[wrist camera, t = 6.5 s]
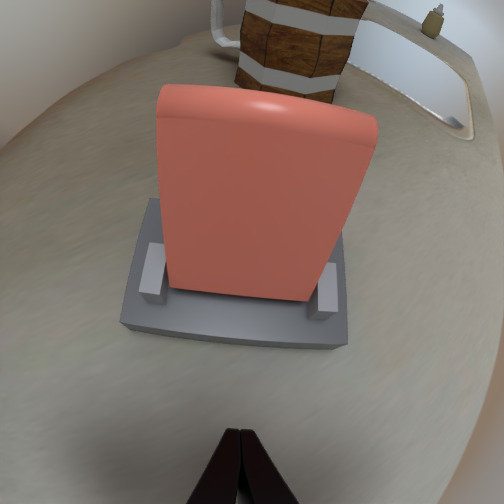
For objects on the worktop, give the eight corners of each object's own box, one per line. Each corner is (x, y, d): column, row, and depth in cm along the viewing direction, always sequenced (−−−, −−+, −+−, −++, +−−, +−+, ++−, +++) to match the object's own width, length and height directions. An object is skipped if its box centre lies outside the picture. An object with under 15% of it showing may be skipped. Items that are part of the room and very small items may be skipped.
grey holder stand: (332, 349, 19) (362, 338, 15) (130, 329, 18) (108, 313, 14) (329, 236, 23) (351, 205, 19) (155, 216, 22) (144, 180, 18)
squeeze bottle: (427, 37, 72) (442, 5, 56) (415, 28, 75) (429, -3, 59) (439, 42, 73) (454, 11, 57) (427, 33, 77) (441, 3, 61)
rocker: (308, 301, 17) (382, 125, 9) (169, 287, 16) (156, 91, 8) (305, 275, 18) (366, 108, 10) (176, 261, 17) (171, 79, 10)
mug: (348, 88, 35) (381, 2, 21) (309, 127, 29) (350, 4, 16) (236, 42, 38) (247, -36, 25) (177, 70, 32) (177, -29, 19)
